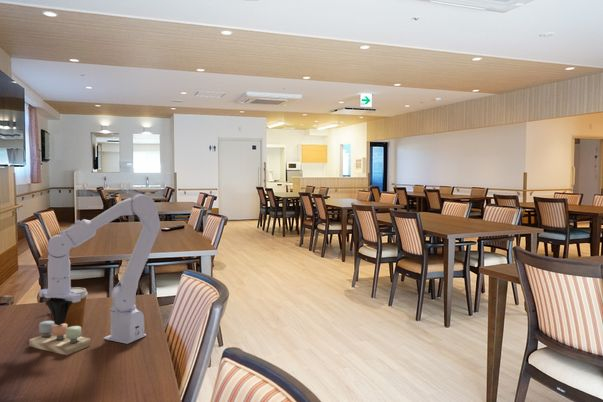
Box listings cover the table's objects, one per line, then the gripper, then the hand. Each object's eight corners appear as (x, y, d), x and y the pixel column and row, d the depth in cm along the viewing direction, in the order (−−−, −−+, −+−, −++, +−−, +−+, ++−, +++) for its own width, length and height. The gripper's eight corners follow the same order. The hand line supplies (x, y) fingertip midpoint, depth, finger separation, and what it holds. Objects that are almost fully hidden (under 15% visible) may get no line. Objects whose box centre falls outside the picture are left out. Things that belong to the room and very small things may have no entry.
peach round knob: (70, 338, 131) (70, 324, 131) (58, 343, 128) (58, 328, 127) (61, 337, 133) (61, 322, 132) (49, 341, 129) (49, 326, 129)
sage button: (84, 341, 129) (84, 327, 129) (72, 346, 125) (72, 331, 125) (74, 339, 130) (74, 325, 130) (63, 344, 127) (62, 329, 127)
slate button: (57, 336, 133) (57, 321, 133) (45, 340, 130) (45, 325, 130) (48, 334, 135) (48, 320, 135) (36, 338, 131) (36, 323, 131)
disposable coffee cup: (63, 334, 140) (63, 295, 139) (49, 327, 146) (49, 290, 145) (93, 326, 147) (93, 290, 147) (79, 320, 153) (78, 285, 153)
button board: (90, 345, 131) (90, 338, 131) (66, 355, 124) (66, 347, 123) (54, 337, 137) (54, 331, 137) (29, 346, 130) (29, 339, 129)
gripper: (28, 277, 128) (29, 324, 129) (64, 282, 123) (65, 331, 123) (51, 272, 135) (51, 317, 136) (86, 277, 129) (87, 324, 130)
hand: (59, 323), depth 130 cm, fingers closed
